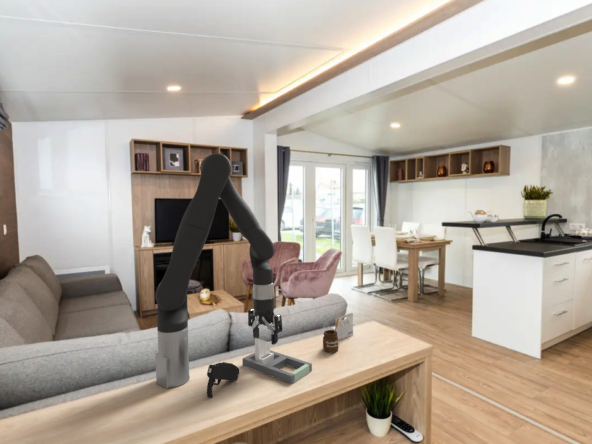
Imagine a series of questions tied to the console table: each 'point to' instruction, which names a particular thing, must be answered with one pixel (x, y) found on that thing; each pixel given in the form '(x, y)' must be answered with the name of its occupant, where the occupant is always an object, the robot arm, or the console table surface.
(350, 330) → the ink cartridge box
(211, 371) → the gun
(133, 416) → the console table surface
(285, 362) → the port panel
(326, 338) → the utensil holder
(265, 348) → the white wedge bracket
